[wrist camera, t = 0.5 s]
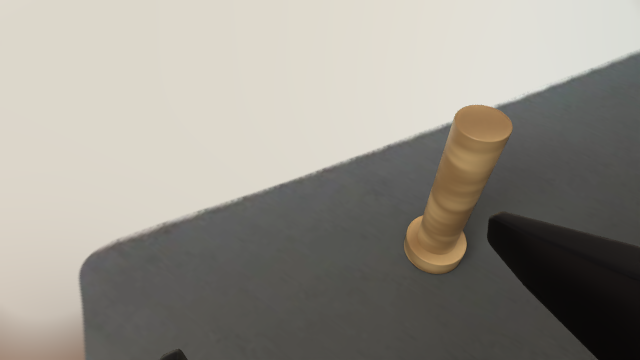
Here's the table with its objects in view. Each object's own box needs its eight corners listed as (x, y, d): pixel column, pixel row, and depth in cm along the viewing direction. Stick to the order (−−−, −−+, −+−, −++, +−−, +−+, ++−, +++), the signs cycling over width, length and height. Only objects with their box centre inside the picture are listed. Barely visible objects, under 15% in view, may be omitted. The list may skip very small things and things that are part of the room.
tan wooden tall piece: (473, 251, 27) (548, 125, 17) (435, 285, 26) (493, 167, 16) (430, 215, 30) (474, 85, 20) (392, 244, 28) (420, 118, 18)
